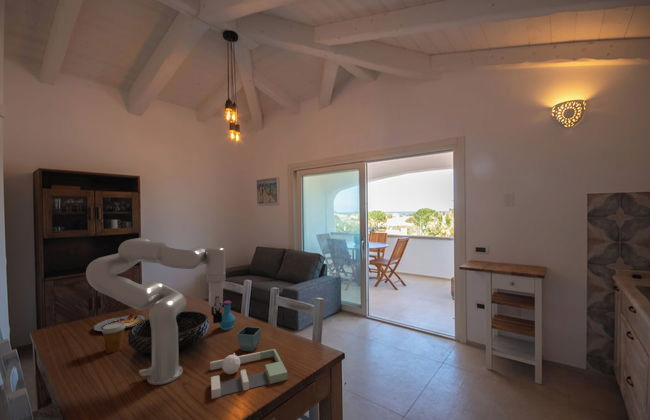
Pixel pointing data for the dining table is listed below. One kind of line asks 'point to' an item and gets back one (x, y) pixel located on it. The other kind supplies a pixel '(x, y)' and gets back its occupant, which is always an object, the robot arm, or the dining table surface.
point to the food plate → (128, 321)
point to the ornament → (231, 364)
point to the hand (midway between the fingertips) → (216, 318)
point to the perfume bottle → (227, 317)
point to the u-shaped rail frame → (245, 382)
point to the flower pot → (249, 338)
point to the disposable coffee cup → (113, 336)
